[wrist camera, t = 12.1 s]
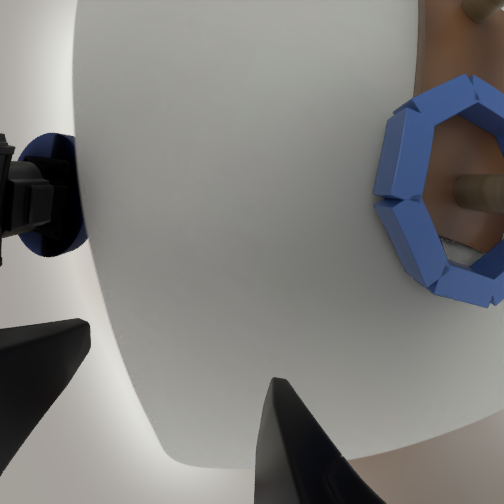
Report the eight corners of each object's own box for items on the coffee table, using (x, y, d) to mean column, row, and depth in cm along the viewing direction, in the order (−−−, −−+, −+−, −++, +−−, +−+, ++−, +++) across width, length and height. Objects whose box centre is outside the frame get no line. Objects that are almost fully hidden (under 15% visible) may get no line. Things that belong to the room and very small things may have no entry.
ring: (353, 262, 15) (366, 277, 12) (394, 62, 13) (412, 43, 10) (499, 302, 14) (522, 317, 12) (532, 140, 12) (557, 137, 9)
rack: (389, 219, 16) (456, 241, 9) (416, -26, 12) (450, -80, 4) (485, 253, 15) (558, 284, 8) (498, 19, 11) (545, -13, 4)
